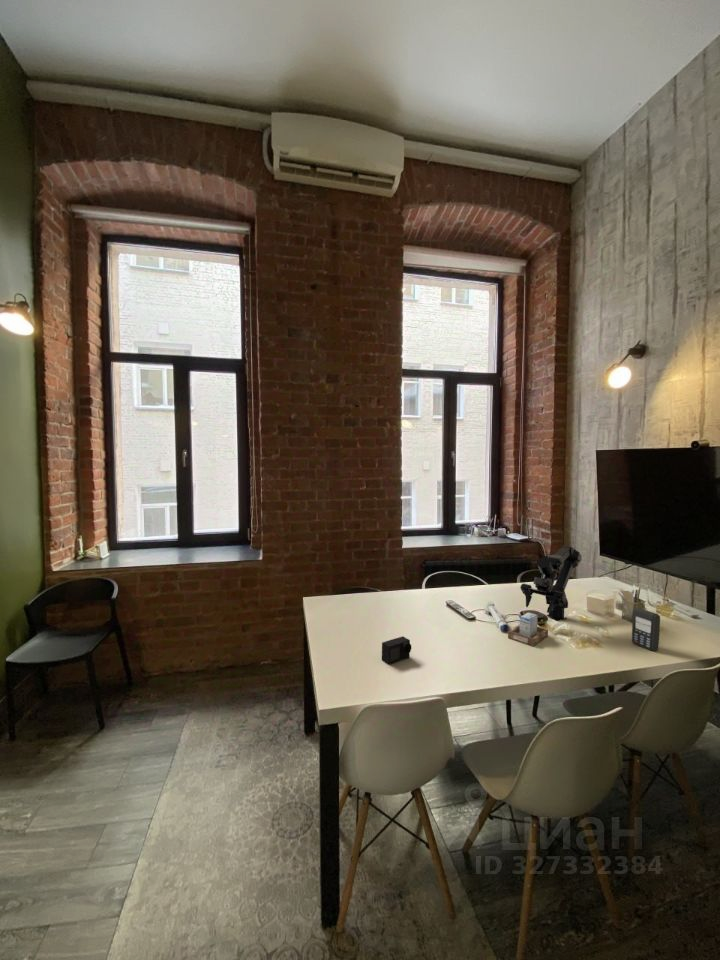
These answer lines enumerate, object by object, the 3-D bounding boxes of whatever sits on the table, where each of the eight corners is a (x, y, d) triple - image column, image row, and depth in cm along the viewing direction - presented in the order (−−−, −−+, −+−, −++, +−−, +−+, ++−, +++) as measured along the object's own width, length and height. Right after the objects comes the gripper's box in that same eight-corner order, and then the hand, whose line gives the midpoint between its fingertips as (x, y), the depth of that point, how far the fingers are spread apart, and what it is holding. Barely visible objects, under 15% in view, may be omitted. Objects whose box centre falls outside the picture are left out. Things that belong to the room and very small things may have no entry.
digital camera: (390, 666, 147) (391, 647, 147) (381, 660, 151) (381, 642, 151) (411, 659, 153) (412, 641, 153) (402, 653, 157) (402, 635, 157)
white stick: (499, 624, 179) (483, 597, 204) (497, 637, 180) (482, 609, 205) (511, 624, 178) (494, 597, 203) (510, 638, 180) (493, 610, 205)
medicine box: (526, 631, 178) (527, 611, 178) (537, 634, 175) (537, 614, 175) (519, 636, 173) (519, 616, 173) (529, 639, 170) (530, 619, 169)
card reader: (629, 643, 170) (631, 608, 169) (636, 641, 172) (637, 606, 171) (653, 652, 162) (654, 615, 161) (659, 650, 163) (660, 614, 163)
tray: (523, 628, 183) (523, 622, 183) (547, 636, 175) (548, 629, 175) (507, 638, 173) (507, 631, 172) (533, 646, 165) (533, 639, 165)
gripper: (522, 566, 189) (511, 594, 182) (564, 574, 176) (554, 605, 169) (529, 579, 195) (518, 607, 188) (570, 588, 182) (560, 619, 175)
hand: (536, 609), depth 180 cm, fingers open, 9 cm apart
